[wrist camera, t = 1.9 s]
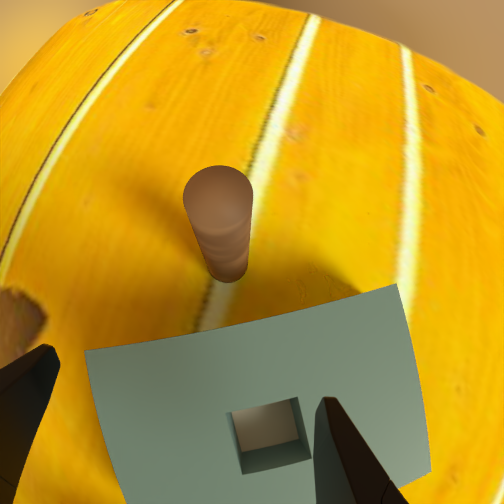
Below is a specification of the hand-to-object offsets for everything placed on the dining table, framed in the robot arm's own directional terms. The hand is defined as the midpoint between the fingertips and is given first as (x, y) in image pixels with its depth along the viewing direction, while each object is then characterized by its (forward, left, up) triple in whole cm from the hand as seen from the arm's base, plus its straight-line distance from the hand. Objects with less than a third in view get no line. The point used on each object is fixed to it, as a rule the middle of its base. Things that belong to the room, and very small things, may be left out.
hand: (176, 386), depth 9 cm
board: (+3, -5, -13) cm, 14 cm away
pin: (+3, +7, -13) cm, 15 cm away
